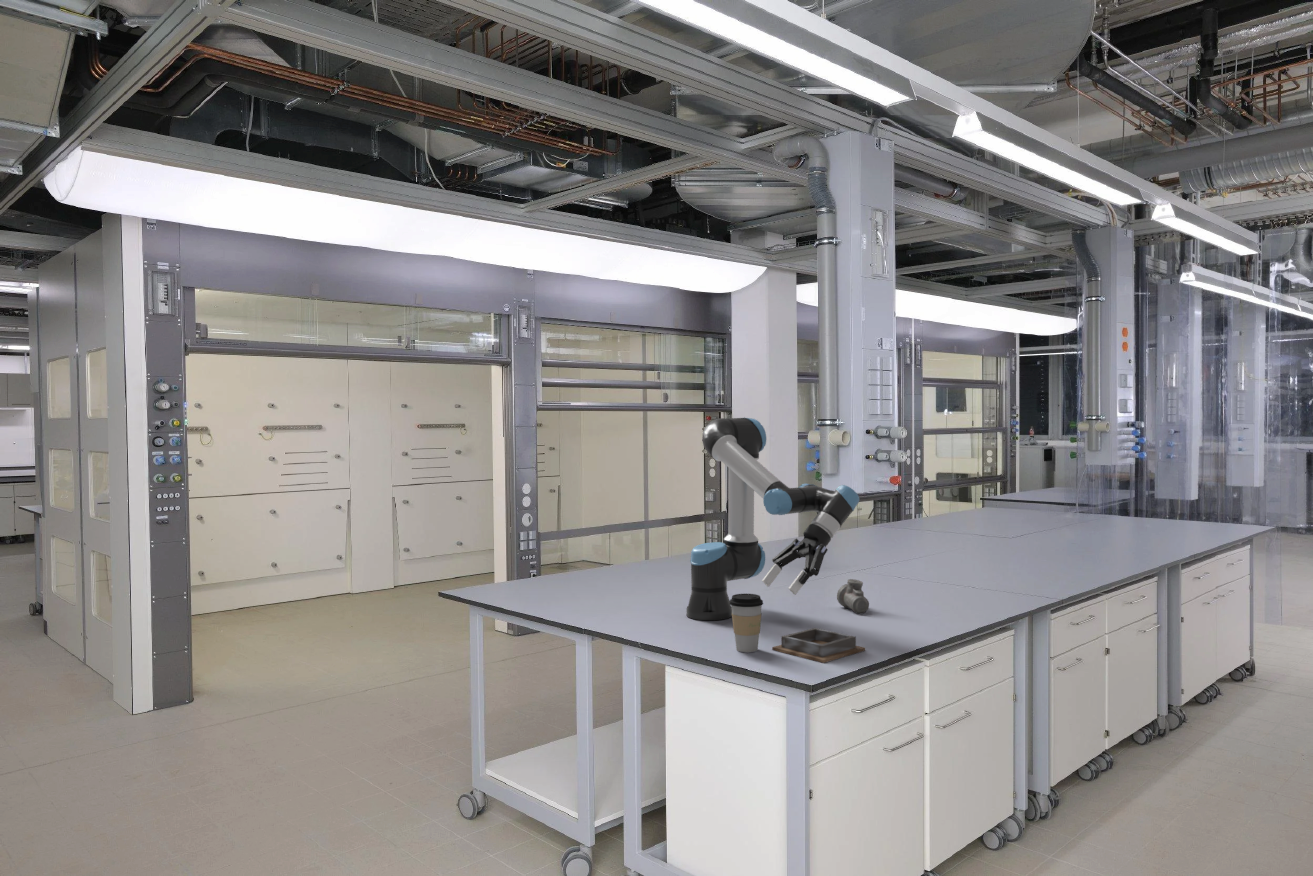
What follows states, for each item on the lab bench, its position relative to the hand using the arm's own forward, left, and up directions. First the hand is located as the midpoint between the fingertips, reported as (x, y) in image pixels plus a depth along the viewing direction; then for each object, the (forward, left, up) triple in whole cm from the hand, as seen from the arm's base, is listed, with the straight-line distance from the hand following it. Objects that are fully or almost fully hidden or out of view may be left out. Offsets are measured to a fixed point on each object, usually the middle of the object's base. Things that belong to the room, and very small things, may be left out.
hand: (778, 587), depth 249 cm
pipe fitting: (-13, +52, -17) cm, 56 cm away
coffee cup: (-3, -10, -17) cm, 20 cm away
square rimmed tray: (+11, +4, -16) cm, 20 cm away
